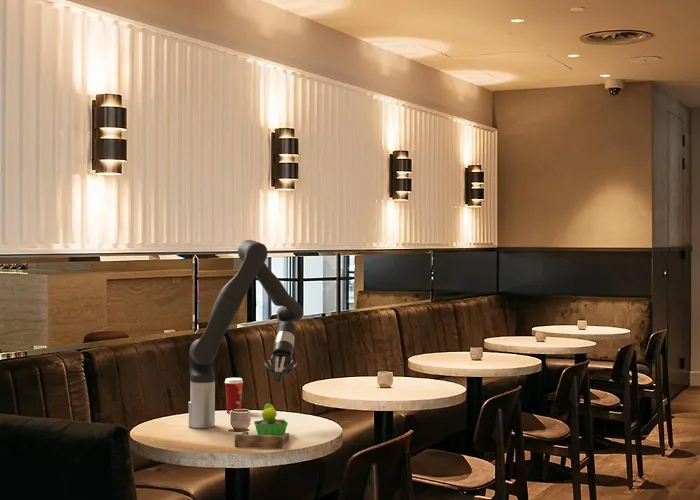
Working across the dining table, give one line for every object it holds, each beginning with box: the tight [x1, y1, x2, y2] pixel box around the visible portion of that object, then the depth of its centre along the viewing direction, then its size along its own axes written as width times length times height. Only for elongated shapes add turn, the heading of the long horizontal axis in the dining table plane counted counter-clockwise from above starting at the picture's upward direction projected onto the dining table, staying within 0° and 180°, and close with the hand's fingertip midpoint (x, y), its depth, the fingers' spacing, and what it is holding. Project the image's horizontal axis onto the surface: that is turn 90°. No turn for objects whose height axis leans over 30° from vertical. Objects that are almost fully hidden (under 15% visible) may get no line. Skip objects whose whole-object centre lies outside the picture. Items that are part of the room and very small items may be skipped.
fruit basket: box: [253, 403, 289, 436], centre depth 353 cm, size 11×9×11 cm
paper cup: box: [224, 377, 244, 415], centre depth 395 cm, size 8×8×14 cm
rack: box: [234, 430, 290, 449], centre depth 340 cm, size 16×14×4 cm
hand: (277, 382), depth 364 cm, fingers closed
